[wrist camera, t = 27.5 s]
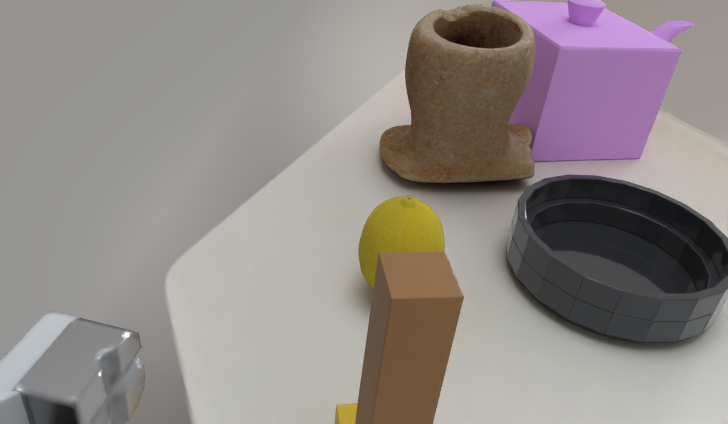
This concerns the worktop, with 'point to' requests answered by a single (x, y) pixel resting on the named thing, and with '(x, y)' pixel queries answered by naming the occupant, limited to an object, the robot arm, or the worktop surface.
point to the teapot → (592, 80)
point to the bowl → (619, 258)
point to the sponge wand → (406, 340)
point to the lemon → (398, 232)
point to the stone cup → (464, 98)
